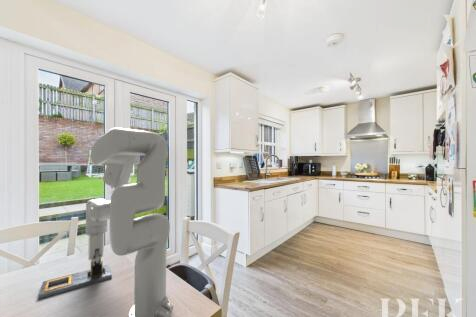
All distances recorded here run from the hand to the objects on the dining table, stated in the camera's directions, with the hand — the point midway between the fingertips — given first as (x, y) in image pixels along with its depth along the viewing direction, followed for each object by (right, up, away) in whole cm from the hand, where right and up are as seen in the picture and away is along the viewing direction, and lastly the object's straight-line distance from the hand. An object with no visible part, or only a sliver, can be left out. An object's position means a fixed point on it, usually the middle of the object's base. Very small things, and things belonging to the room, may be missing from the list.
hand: (96, 269), depth 87 cm
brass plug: (0, -3, 0) cm, 3 cm away
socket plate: (-5, -3, -4) cm, 7 cm away
